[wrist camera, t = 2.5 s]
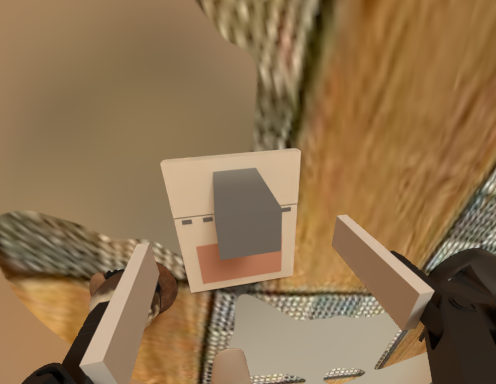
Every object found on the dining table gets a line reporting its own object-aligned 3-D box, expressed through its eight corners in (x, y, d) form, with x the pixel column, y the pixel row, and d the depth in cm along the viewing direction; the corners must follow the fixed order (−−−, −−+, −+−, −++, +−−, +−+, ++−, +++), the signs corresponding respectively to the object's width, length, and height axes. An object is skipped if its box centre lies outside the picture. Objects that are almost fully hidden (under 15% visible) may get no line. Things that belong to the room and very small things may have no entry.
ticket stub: (293, 198, 29) (340, 255, 18) (175, 212, 26) (152, 285, 16) (296, 148, 26) (353, 182, 15) (163, 159, 24) (125, 208, 13)
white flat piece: (289, 268, 34) (292, 276, 33) (192, 284, 32) (191, 293, 31) (293, 199, 29) (297, 205, 27) (175, 213, 27) (173, 220, 25)
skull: (193, 307, 33) (135, 378, 26) (155, 283, 39) (99, 336, 31) (168, 253, 27) (84, 324, 20) (128, 234, 33) (51, 284, 26)
